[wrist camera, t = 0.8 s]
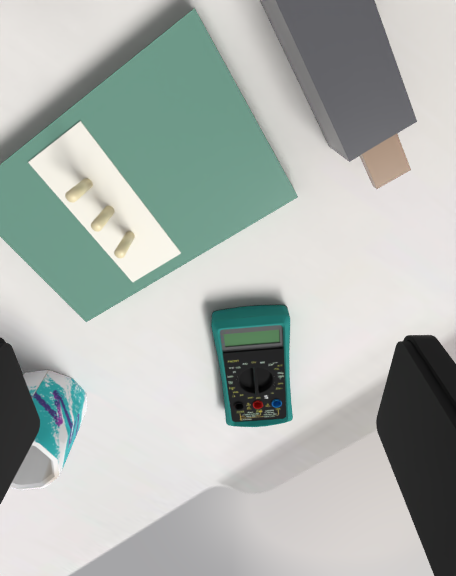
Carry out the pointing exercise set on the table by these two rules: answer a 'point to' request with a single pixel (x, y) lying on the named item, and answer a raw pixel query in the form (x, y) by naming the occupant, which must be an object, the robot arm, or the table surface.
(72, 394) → the mug
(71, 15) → the table surface
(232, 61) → the table surface
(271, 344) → the digital multimeter
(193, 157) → the header board
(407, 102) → the block
